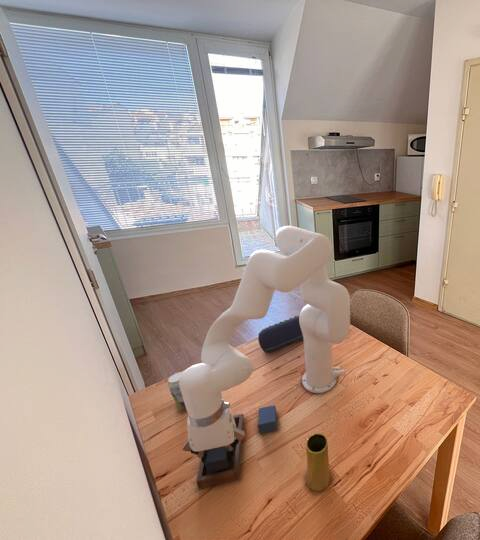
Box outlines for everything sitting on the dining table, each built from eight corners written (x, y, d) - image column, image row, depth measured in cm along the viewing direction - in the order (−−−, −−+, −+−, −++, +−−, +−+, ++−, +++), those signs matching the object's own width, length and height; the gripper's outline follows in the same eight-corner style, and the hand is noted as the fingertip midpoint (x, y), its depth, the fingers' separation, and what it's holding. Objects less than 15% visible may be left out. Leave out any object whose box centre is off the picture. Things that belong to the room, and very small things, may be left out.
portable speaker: (307, 325, 138) (306, 307, 134) (319, 336, 132) (318, 317, 127) (255, 347, 124) (252, 327, 120) (265, 360, 117) (262, 339, 113)
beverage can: (190, 414, 94) (181, 386, 89) (170, 409, 95) (160, 382, 90) (203, 398, 99) (196, 371, 94) (184, 394, 100) (176, 367, 95)
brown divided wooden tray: (244, 420, 92) (243, 413, 91) (238, 479, 76) (236, 472, 75) (211, 426, 90) (209, 419, 88) (198, 489, 74) (196, 481, 73)
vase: (307, 467, 80) (305, 431, 74) (330, 465, 80) (329, 430, 74) (306, 492, 74) (303, 456, 68) (330, 490, 75) (329, 454, 69)
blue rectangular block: (276, 413, 95) (275, 404, 93) (276, 430, 89) (275, 421, 88) (260, 417, 93) (258, 408, 92) (259, 434, 88) (257, 424, 86)
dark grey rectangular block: (231, 447, 81) (229, 437, 80) (228, 468, 76) (225, 458, 74) (211, 451, 80) (208, 441, 78) (207, 473, 75) (204, 463, 73)
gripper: (245, 392, 76) (254, 439, 83) (171, 405, 72) (187, 453, 79) (242, 416, 69) (252, 465, 77) (161, 432, 65) (180, 482, 73)
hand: (219, 458), depth 78 cm, fingers closed on dark grey rectangular block, 4 cm apart
